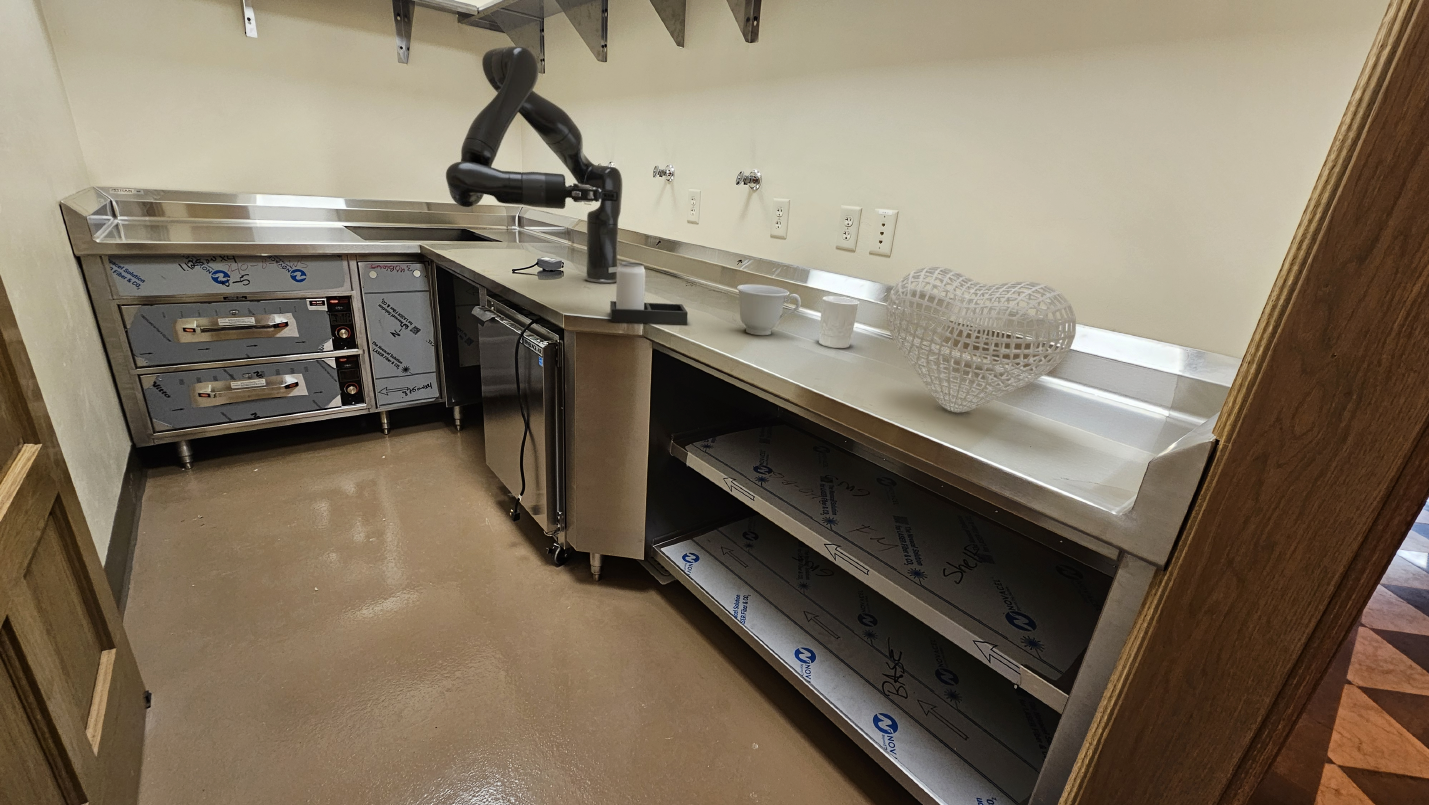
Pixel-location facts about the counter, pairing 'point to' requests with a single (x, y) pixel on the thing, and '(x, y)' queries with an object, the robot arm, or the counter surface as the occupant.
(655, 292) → the counter surface
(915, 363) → the heart
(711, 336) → the counter surface
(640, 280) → the can
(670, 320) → the tray
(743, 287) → the teacup
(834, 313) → the white cup
